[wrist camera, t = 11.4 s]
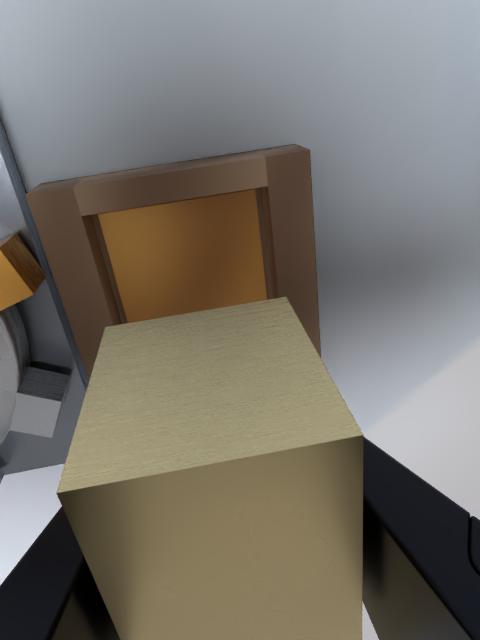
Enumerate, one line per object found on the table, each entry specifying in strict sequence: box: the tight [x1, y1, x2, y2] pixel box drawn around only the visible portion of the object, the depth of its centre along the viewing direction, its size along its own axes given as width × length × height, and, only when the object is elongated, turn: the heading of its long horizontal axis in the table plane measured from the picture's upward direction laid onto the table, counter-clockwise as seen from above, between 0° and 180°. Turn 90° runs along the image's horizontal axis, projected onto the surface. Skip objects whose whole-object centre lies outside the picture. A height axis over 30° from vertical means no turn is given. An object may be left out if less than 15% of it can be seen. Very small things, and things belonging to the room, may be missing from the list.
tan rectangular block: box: [57, 297, 363, 640], centre depth 8 cm, size 4×5×4 cm
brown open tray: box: [25, 144, 321, 381], centre depth 14 cm, size 7×9×2 cm
